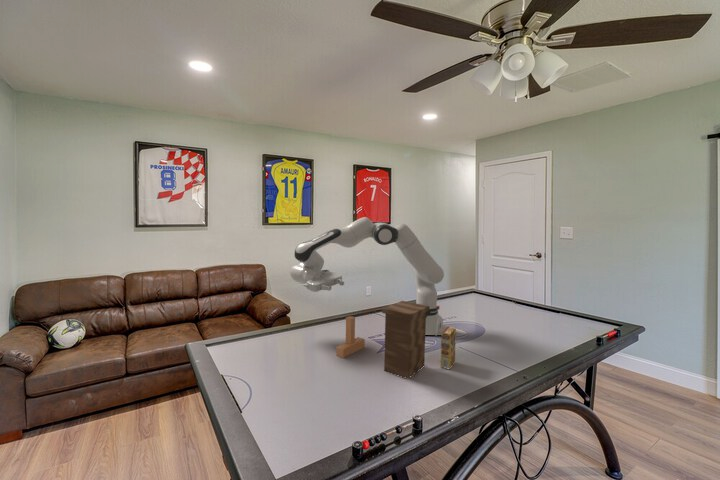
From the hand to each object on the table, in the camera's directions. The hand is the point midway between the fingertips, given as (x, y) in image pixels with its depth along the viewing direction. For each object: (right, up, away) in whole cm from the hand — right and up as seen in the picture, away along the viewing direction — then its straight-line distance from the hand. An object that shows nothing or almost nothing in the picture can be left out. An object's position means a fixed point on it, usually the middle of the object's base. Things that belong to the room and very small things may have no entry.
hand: (337, 286), depth 160 cm
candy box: (+48, -32, -17) cm, 60 cm away
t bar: (+5, -22, -3) cm, 23 cm away
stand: (+29, -31, -21) cm, 48 cm away
